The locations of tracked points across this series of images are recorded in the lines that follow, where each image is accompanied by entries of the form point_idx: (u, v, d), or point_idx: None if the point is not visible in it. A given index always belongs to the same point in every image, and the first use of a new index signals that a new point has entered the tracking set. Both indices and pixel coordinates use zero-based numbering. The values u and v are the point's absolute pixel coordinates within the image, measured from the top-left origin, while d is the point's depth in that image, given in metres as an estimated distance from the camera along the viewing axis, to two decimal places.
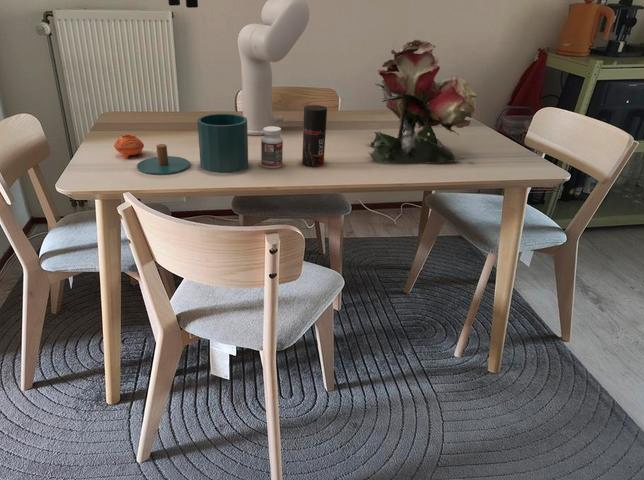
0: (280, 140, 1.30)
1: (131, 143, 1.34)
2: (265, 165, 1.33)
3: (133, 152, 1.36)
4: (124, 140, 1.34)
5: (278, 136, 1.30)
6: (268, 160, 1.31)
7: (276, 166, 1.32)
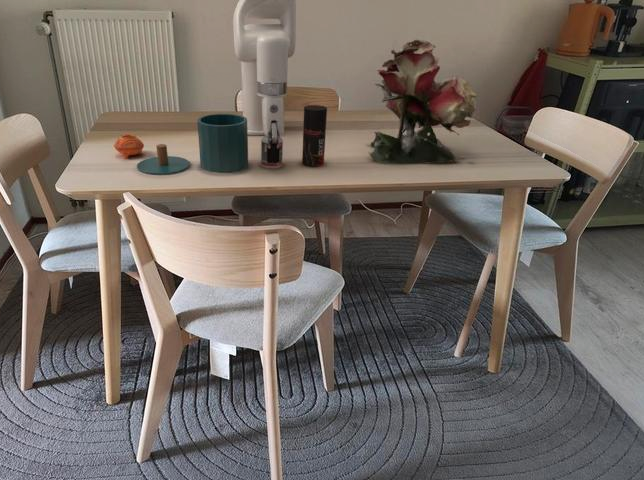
0: (280, 140, 1.30)
1: (131, 143, 1.34)
2: (265, 165, 1.33)
3: (133, 152, 1.36)
4: (124, 140, 1.34)
5: None
6: None
7: (276, 166, 1.32)
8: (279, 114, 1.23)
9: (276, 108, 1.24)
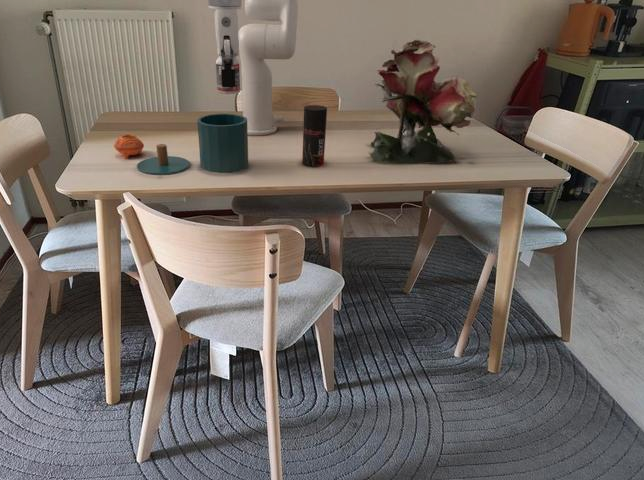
0: (236, 61, 1.19)
1: (131, 143, 1.34)
2: (220, 90, 1.21)
3: (133, 152, 1.36)
4: (124, 140, 1.34)
5: (234, 57, 1.19)
6: None
7: (232, 91, 1.21)
8: (233, 28, 1.12)
9: (229, 22, 1.12)
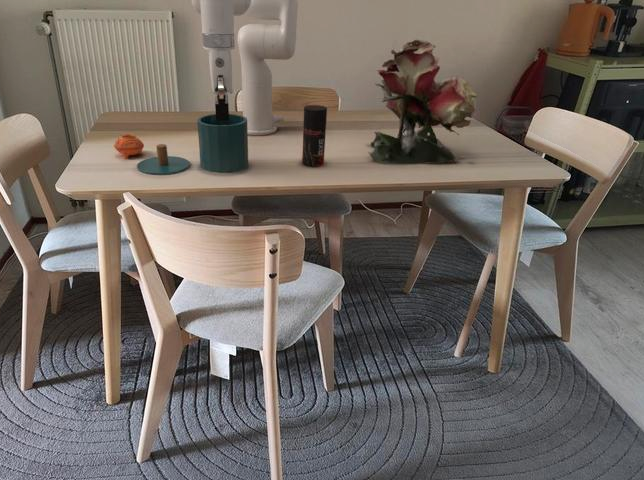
0: None
1: (131, 143, 1.34)
2: None
3: (133, 152, 1.36)
4: (124, 140, 1.34)
5: None
6: None
7: None
8: (226, 68, 1.16)
9: (222, 62, 1.17)
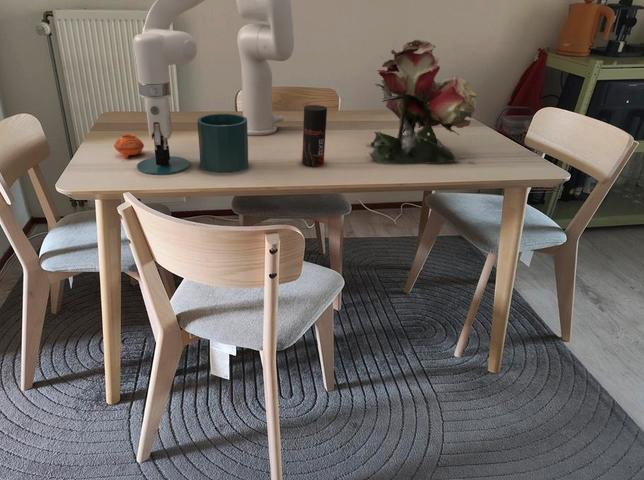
0: None
1: (131, 143, 1.34)
2: None
3: (133, 152, 1.36)
4: (124, 140, 1.34)
5: None
6: None
7: None
8: (161, 115, 1.20)
9: (158, 110, 1.20)
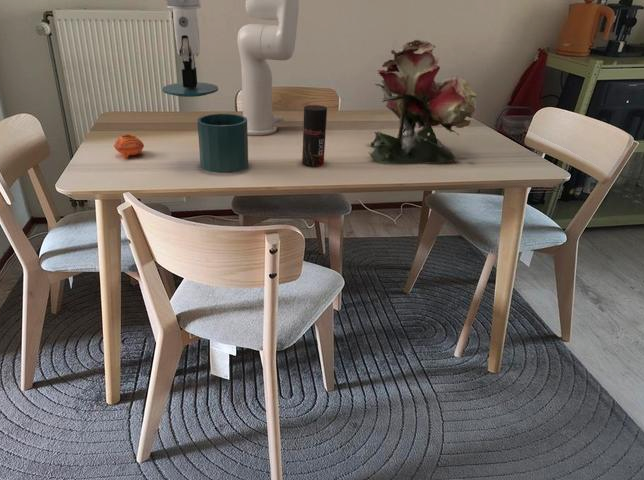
0: None
1: (131, 143, 1.34)
2: None
3: (133, 152, 1.36)
4: (124, 140, 1.34)
5: None
6: None
7: None
8: (190, 28, 1.11)
9: (187, 22, 1.11)
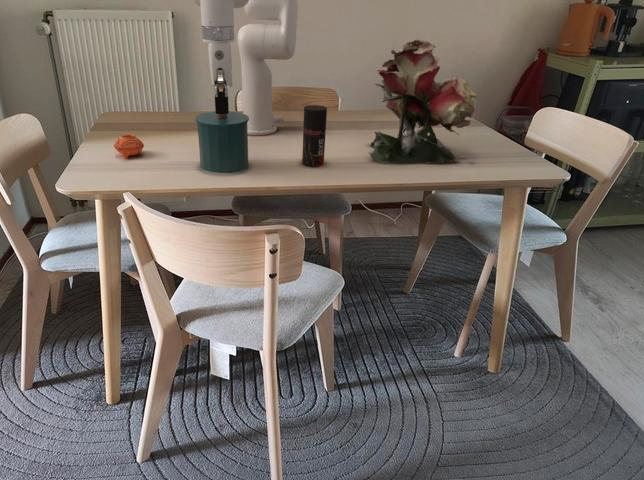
0: None
1: (131, 143, 1.34)
2: None
3: (133, 152, 1.36)
4: (124, 140, 1.34)
5: None
6: None
7: None
8: (226, 60, 1.15)
9: (222, 55, 1.16)
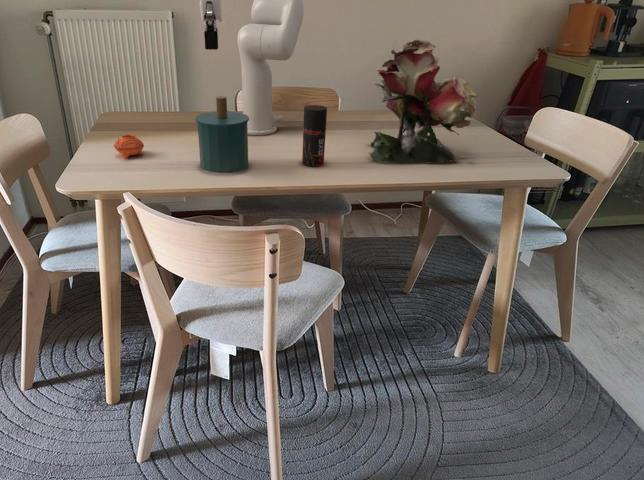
0: None
1: (131, 143, 1.34)
2: None
3: (133, 152, 1.36)
4: (124, 140, 1.34)
5: None
6: None
7: None
8: None
9: None
